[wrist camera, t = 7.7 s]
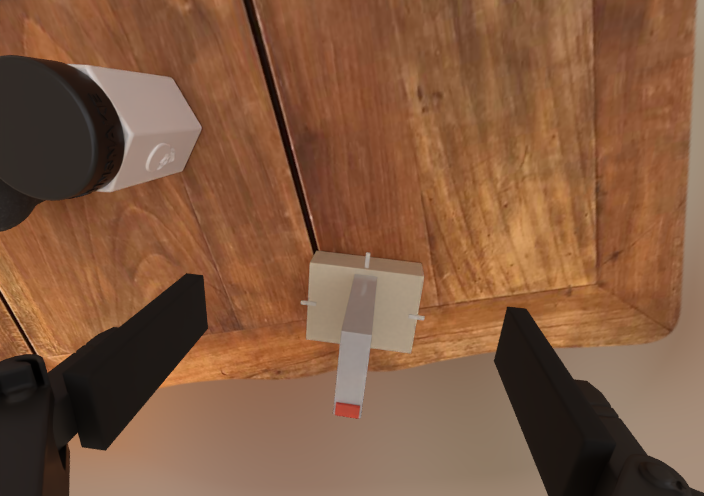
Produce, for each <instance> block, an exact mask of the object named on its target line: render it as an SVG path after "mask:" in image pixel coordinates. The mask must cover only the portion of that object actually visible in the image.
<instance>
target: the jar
mask: <svg viewBox="0 0 704 496" xmlns="http://www.w3.org/2000/svg"><path fill="white" fill-rule="evenodd" d="M201 130H202V127H201V125H200V123H199V122H198V120H197V118H196V117H195V115H194V113H193V112H192V110H191V108H190V107H189V105H188V103H187V101H186V100H185V98H184V96H183V95H182V93H181V91H180V90H179V88H178V86H177V85H176V83H175V81H174V80H173V78H171V77H167V76H160V75H153V74H146V73H139V72H133V71H126V70H119V69H112V68H105V67H98V66H92V65H81V64H65V63H62V62H58V61H52V60H45V59H38V58H31V57H24V56H16V55H6V56H0V179H2V180H3V181H4V182H5V183H7V184H8V185H9V186H11V187H12V188H14V189H16V190H17V191H19V192H21V193H23V194H26V195H28V196H31V197H33V198H37V199H41V200H50V201H56V200H64V199H71V198H75V197H76V198H77V197H80V196H84V195H87V194H90V193H92V192H94V191H99V192H114V191H117V190H121V189H124V188H127V187H131V186H134V185H138V184H141V183H145V182H148V181H151V180H155V179H158V178H162V177H165V176H169V175H172V174H175V173H179V172H182V171H183V170H184V167H185V165H186V163H187V161H188V159H189V156H190V154H191V152H192V150H193V148H194V145H195V143H196V141H197V139H198V137H199V134H200V132H201Z"/></svg>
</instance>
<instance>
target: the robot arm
mask: <svg viewBox="0 0 704 496" xmlns="http://www.w3.org/2000/svg"><path fill="white" fill-rule="evenodd" d="M207 329H208V324H207V312H206V301H205V290H204V279H203V275H196V274H187V273H186V274H185V275H184V276H183V277H182V278H180V279H179V280H178V281H177V282H175V283H174V284H173V285H172V286H170V287H169V288H168V289H167V290H165V291H164V292H163V293H162V294H160V295H159V296H158V297H157V298H155V299H154V300H153V301H152V302H150V303H149V304H148V305H147V306H145V307H144V308H143V309H142V310H140V311H139V312H138V313H137V314H135V315H134V316H133V317H132V318H130V319H129V320H128V321H127V322H125V323H124V324H123V325H122V326H120V327H119V328H118V327H113V328H111V329H108V330H106V331H104V332H102V333H100V334H98V335H97V336H95V337H94V338H93V339H91V340H90V341H89V342H87V343H86V345H84V346H82V347H81V348H80V349H78V350H77V351H76V353H73V354H72V355H71V356H69V357H68V358H67V359H65V360H64V361H63V362H61V363H60V364H59V365H57V366H56V367H55V368H54V369H52V370H51V371H50V372H48V373H47V370H46V366H45V363H44V360H43V357H41V356H39V355H34V354H26V355H20V356H15V357H12V358H8V359H5V360H3V361H1V362H0V496H69V472H70V466H69V465H70V450H69V447H68V442H69V441H70V440H71V439H72V438H73V437H74V436H75V435H76V434H77V433H78V435H79V438H80V442H81V446H82V447H84V448H92V449H99V450H107V448H108V447H109V446H110V445H111V444H112V442H113V441H114V440H115V439H116V437H117V436H118V435H119V434H120V433H121V432H122V431H123V429H124V428H125V427H126V426H127V425H128V423H129V422H130V421H131V420H132V419H133V417H134V416H135V415H136V414H137V412H138V411H139V410H140V409H141V408H142V406H143V405H144V404H145V403H146V402H147V401H148V400H149V398H150V397H151V396H152V395H153V393H154V392H155V391H156V390H157V389H158V388H159V386H160V385H161V384H162V383H163V382H164V380H165V379H166V378H167V377H168V376H169V374H170V373H171V372H172V371H173V370H174V368H175V367H176V366H177V365H178V364H179V362H180V361H181V360H182V359H183V358H184V357H185V355H186V354H187V353H188V352H189V351H190V349H191V348H192V347H193V346H194V345H195V343H196V342H197V341H198V340H199V339H200V337H201V336H202V335H203V334H204V333H205V331H206V330H207ZM494 362H495V365H496V367H497V370H498V372H499V375H500V377H501V380H502V382H503V385H504V387H505V390H506V392H507V395H508V397H509V400H510V402H511V404H512V407H513V409H514V411H515V414H516V417H517V419H518V422H519V424H520V426H521V429H522V432H523V434H524V437H525V439H526V442H527V444H528V446H529V449H530V451H531V454H532V456H533V459H534V461H535V464H536V466H537V469H538V471H539V474H540V476H541V479H542V481H543V484H544V486H545V489H546V491H547V494H548V496H704V493H703V492H700V491H697V490H695V489H692V488H690V487H689V486H688V484H687V483H686V481H685V480H684V478H683V477H682V476H681V475H679V474H678V473H677V472H676V471H675V470H674V469H673V468H671V467H670V466H668V465H667V464H665V463H664V462H662V461H660V460H658V459H655V458H653V457H651V456H648V455H647V454H646V452H645V451H644V450H643V448H642V447H641V446H640V444H639V443H638V442H637V440H636V439H635V437H634V436H633V435H632V433H631V432H630V431H629V429H628V428H627V427H626V425H625V424H624V423H623V421H622V420H621V419H620V418H618V414H617V413H616V412H615V410H614V409H613V408H611V405H610V404H609V402H608V401H607V400H606V398H605V397H604V395H603V394H602V393H601V392H600V391H599V390H598V389H596V388H595V387H594V386H593V385H591V384H590V383H589V382H588V381H583V380H574V379H573V378H572V376H571V375H570V373H569V372H568V370H567V369H566V368H565V366H564V364H563V363H562V361H561V360H560V358H559V357H558V355H557V354H556V352H555V351H554V349H553V348H552V346H551V345H550V343H549V342H548V340H547V339H546V337H545V336H544V334H543V333H542V332H541V330H540V329H539V327H538V326H537V324H536V323H535V321H534V320H533V318H532V317H531V315H530V314H529V312H528V311H527V309H524V308H515V307H507V310H506V314H505V318H504V322H503V326H502V330H501V335H500V339H499V343H498V347H497V351H496V355H495V359H494Z"/></svg>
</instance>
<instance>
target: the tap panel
mask: <svg viewBox="0 0 704 496" xmlns="http://www.w3.org/2000/svg"><path fill="white" fill-rule="evenodd" d="M355 274H361V275H369V276H376V277H378V278H377V288H376V299H375V309H374V320H373V330H372V339H371V346H370V348H374V349H382V350H389V351H396V352H404V353H411V351H412V345H413V339H414V334H415V328H416V322H417V319H418V320H424V318H425V316H420V315H418V310H419V305H420V299H421V293H422V287H423V281H424V273H423V267H422V263H416V262H407V261H399V260H391V259H382V258H374V257H370V253H369V252H366V256H357V255H349V254H341V253H332V252H324V251H316V252H315V254H314V256H313V258H312V260H311V262H310V268H309V289H308V301H304V300H301V304H303V305H308V309H307V329H306V339H308V340H316V341H323V342H330V343H338V344H340V338H341V330H342V326H343V322H344V317H345V313H346V309H347V305H348V300H349V296H350V292H351V288H352V284H353V279H354V275H355Z"/></svg>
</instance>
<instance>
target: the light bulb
mask: <svg viewBox="0 0 704 496" xmlns="http://www.w3.org/2000/svg"><path fill="white" fill-rule="evenodd" d="M43 201H45V200H41V199H37V198H33V197H31V196H28V195H26V194H23V193H21V192H19V191H17V190H16V189H14V188H12V187H11V186H9V185H8V184H7V183H5V182H4V181H3V180H2V179H0V232H1V231H6V230H8V229H11V228H13V227H15V226H17V225H18V224H20V223H21V222H22V221H24V220H25V219H26V218H27V217H28V216H29V215H30V213H31V212H32V211H33V209H34V208H35V206H36V205H37V204H39V203H41V202H43Z"/></svg>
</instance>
